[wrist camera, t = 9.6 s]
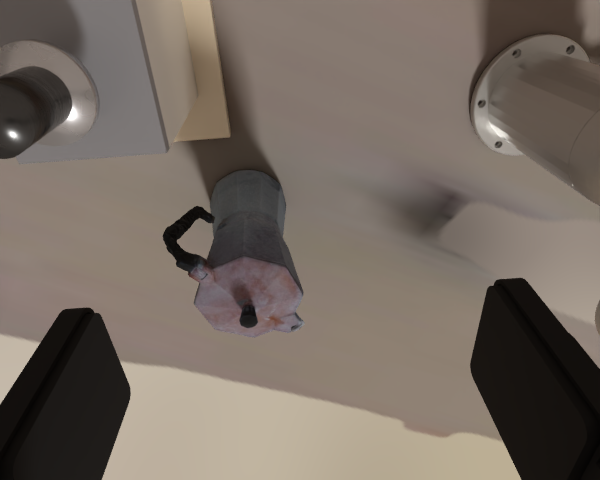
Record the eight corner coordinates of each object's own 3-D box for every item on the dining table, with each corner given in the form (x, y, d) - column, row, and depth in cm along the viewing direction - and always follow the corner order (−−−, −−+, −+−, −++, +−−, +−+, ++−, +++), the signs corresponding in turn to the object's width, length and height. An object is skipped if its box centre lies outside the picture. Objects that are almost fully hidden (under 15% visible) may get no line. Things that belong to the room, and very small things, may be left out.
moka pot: (273, 259, 56) (275, 384, 39) (167, 195, 50) (116, 309, 33) (319, 207, 52) (344, 320, 35) (211, 132, 46) (179, 224, 29)
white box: (199, -86, 36) (152, -125, 21) (231, 132, 46) (214, 208, 32) (21, -74, 36) (-153, -107, 21) (92, 143, 46) (9, 224, 31)
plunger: (163, -4, 37) (44, 24, 17) (182, 87, 41) (102, 194, 21) (75, 2, 37) (-149, 37, 17) (102, 93, 41) (-53, 206, 21)
